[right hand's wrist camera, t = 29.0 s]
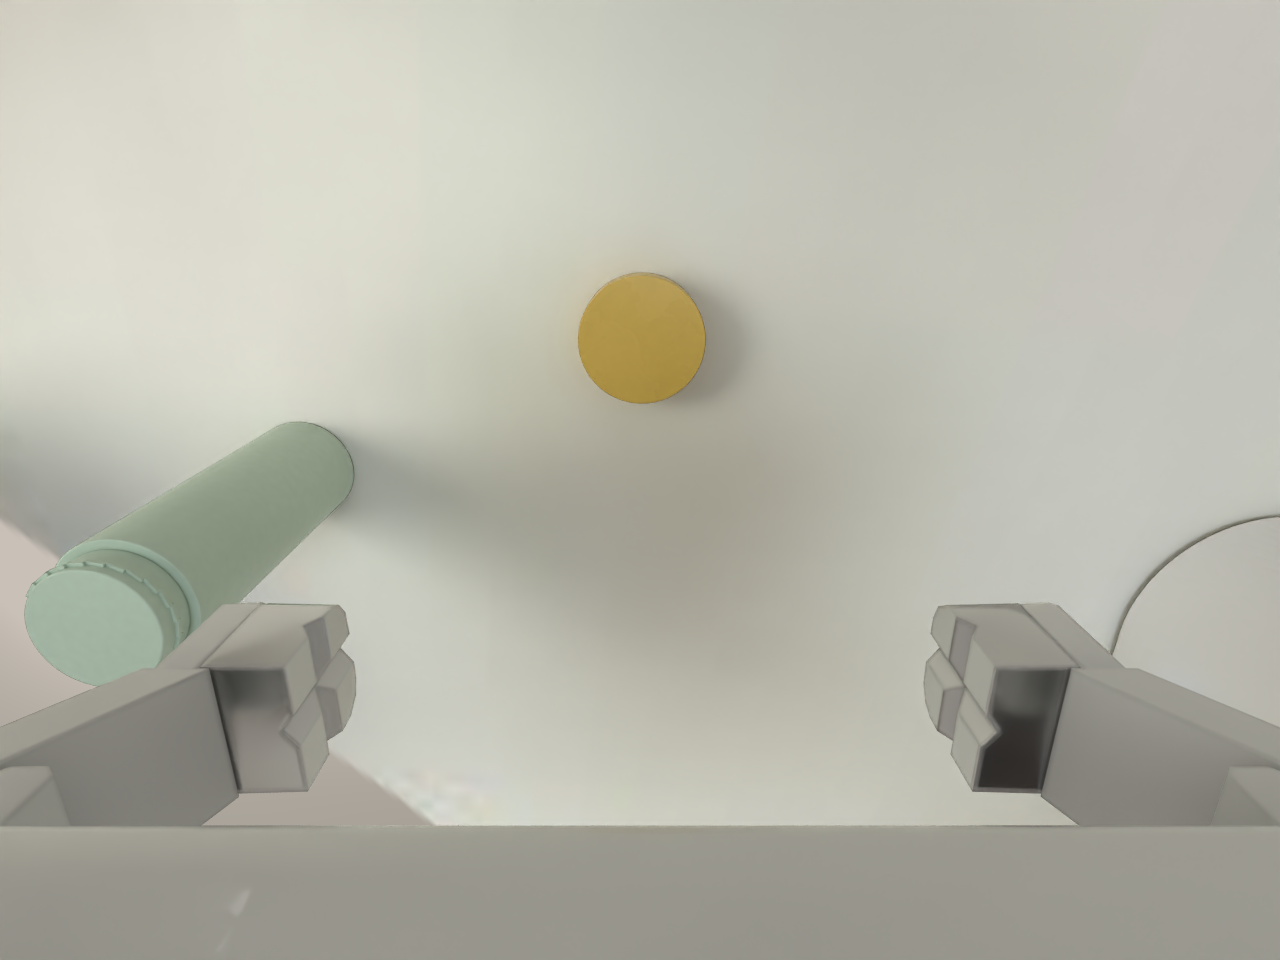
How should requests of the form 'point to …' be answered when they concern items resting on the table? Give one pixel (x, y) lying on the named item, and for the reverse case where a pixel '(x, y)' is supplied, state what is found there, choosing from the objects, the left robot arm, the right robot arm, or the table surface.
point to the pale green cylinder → (185, 555)
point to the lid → (641, 338)
